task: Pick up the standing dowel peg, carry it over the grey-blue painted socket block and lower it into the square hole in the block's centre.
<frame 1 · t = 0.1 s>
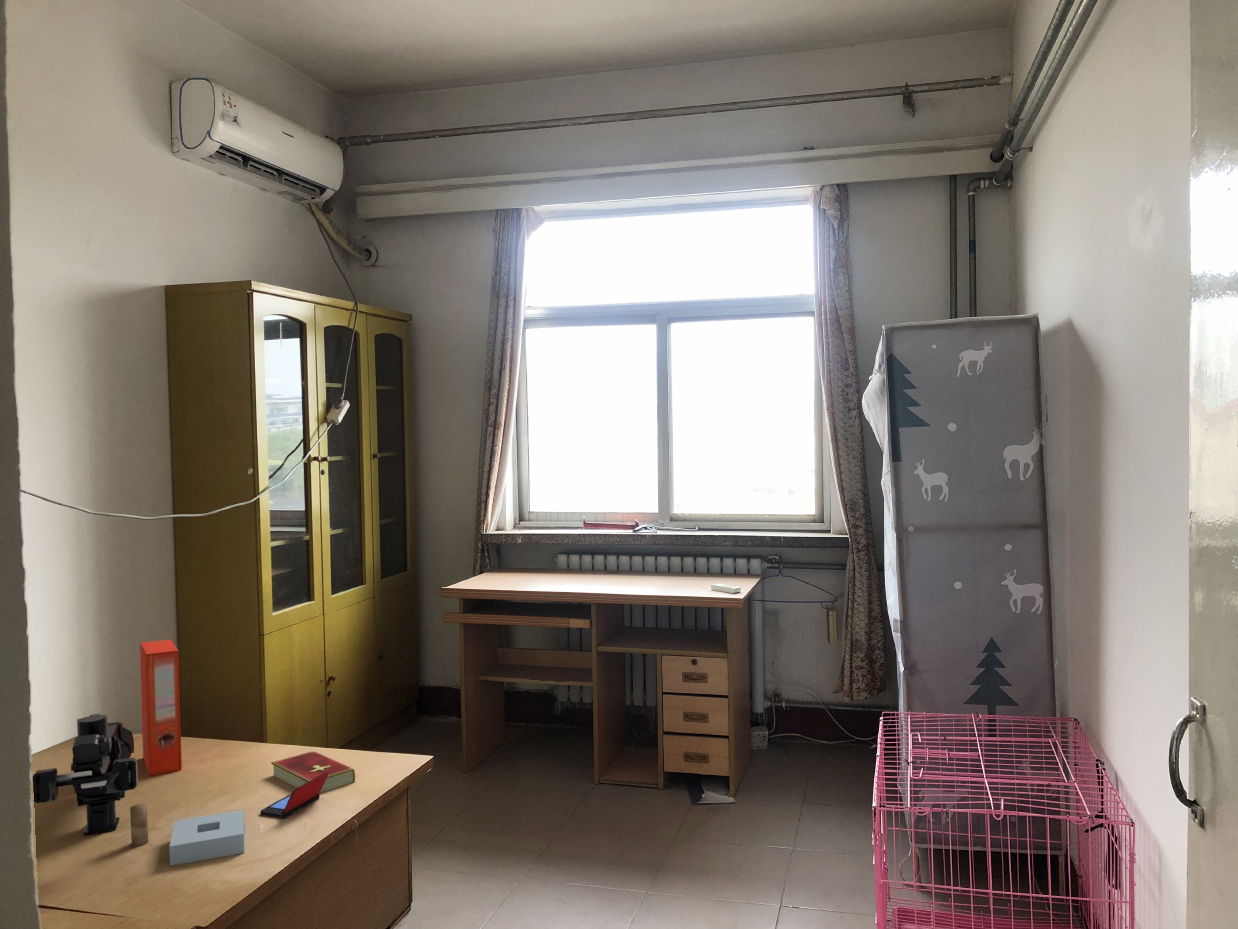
hand: (79, 794, 183), 17 cm above the table, fingers open, 9 cm apart
handheld game console: (295, 809, 215), on the table
hardcover book: (313, 781, 234), on the table
peg: (140, 843, 198), on the table
socket block: (209, 845, 196), on the table
file binder: (162, 764, 248), on the table
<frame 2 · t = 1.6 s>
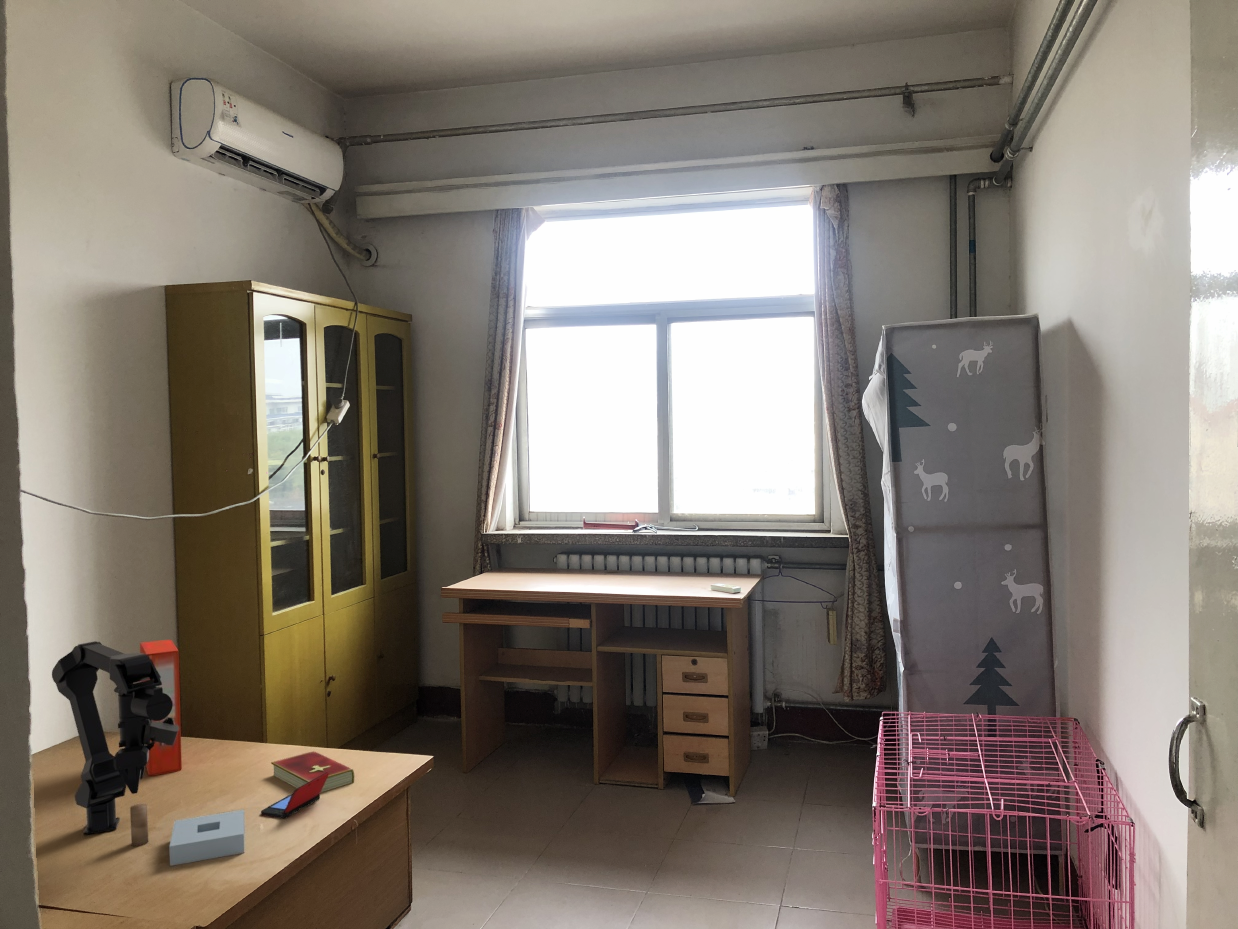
hand: (137, 786, 198), 12 cm above the table, fingers open, 9 cm apart
nothing on the table moved.
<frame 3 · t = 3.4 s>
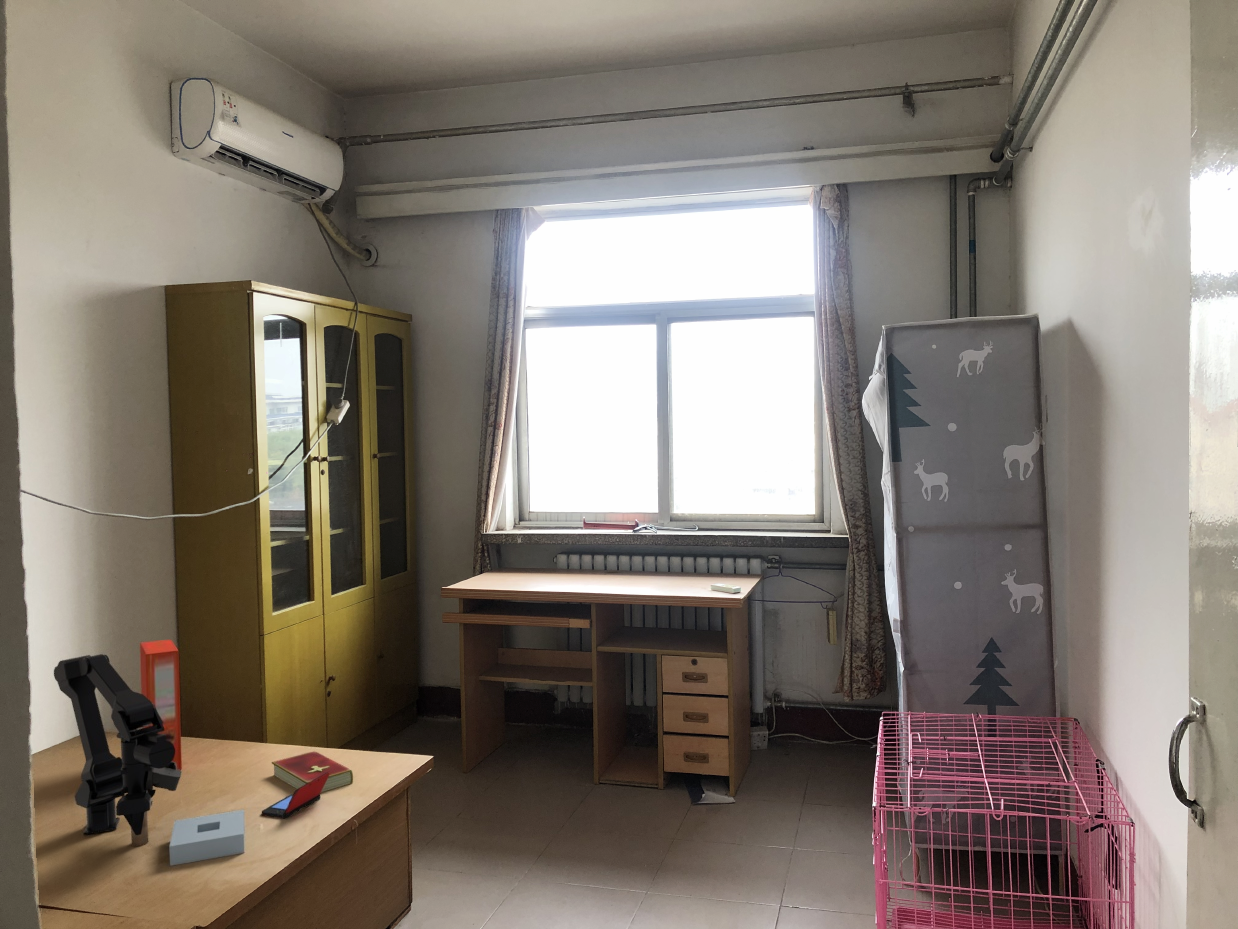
hand: (139, 831, 198), 3 cm above the table, fingers closed on peg, 3 cm apart
peg: (140, 843, 198), on the table, touching gripper
everything else where it was.
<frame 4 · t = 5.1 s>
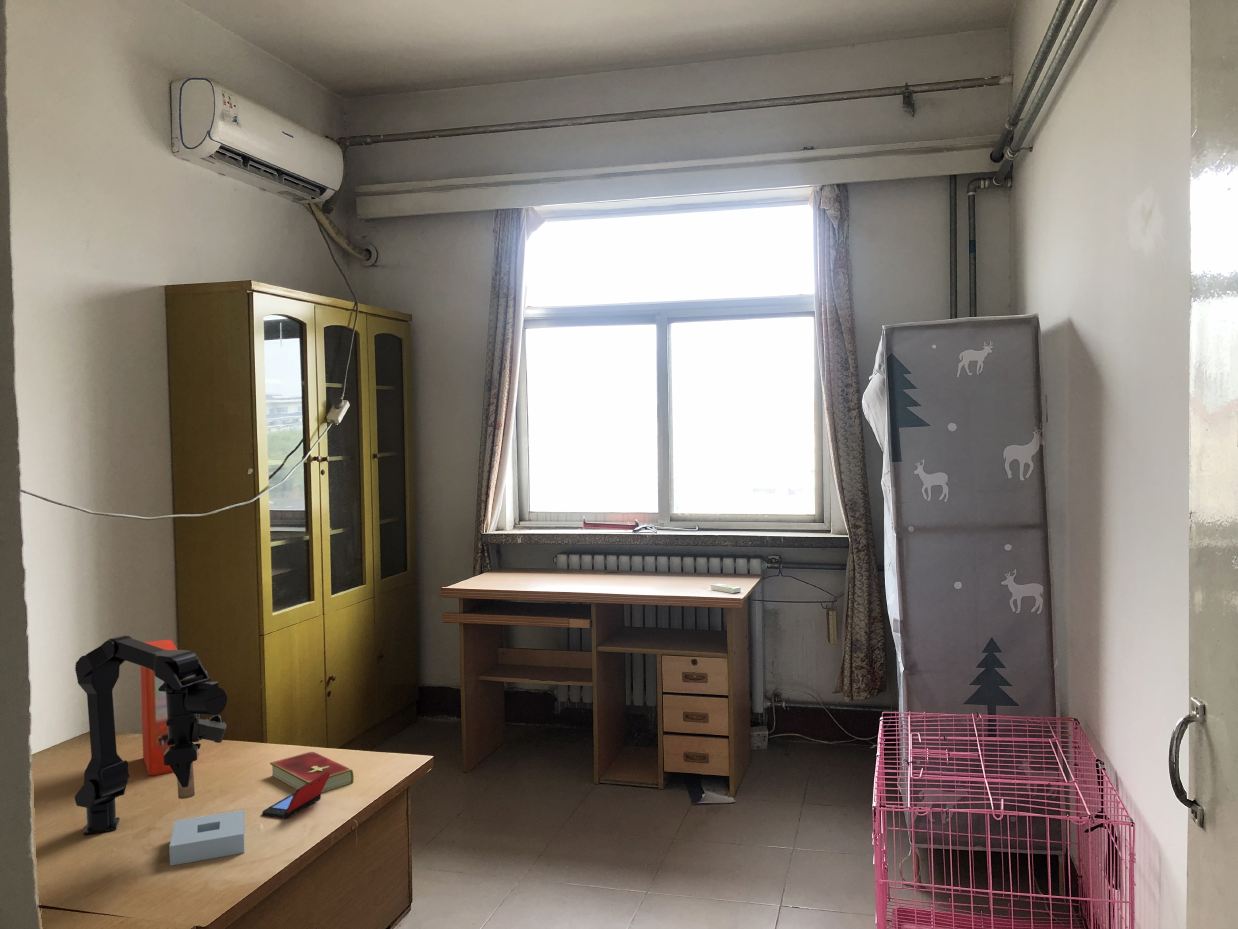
hand: (186, 784, 196), 13 cm above the table, fingers closed on peg, 3 cm apart
peg: (186, 796, 196), point 11 cm above the table, touching gripper
everything else where it was.
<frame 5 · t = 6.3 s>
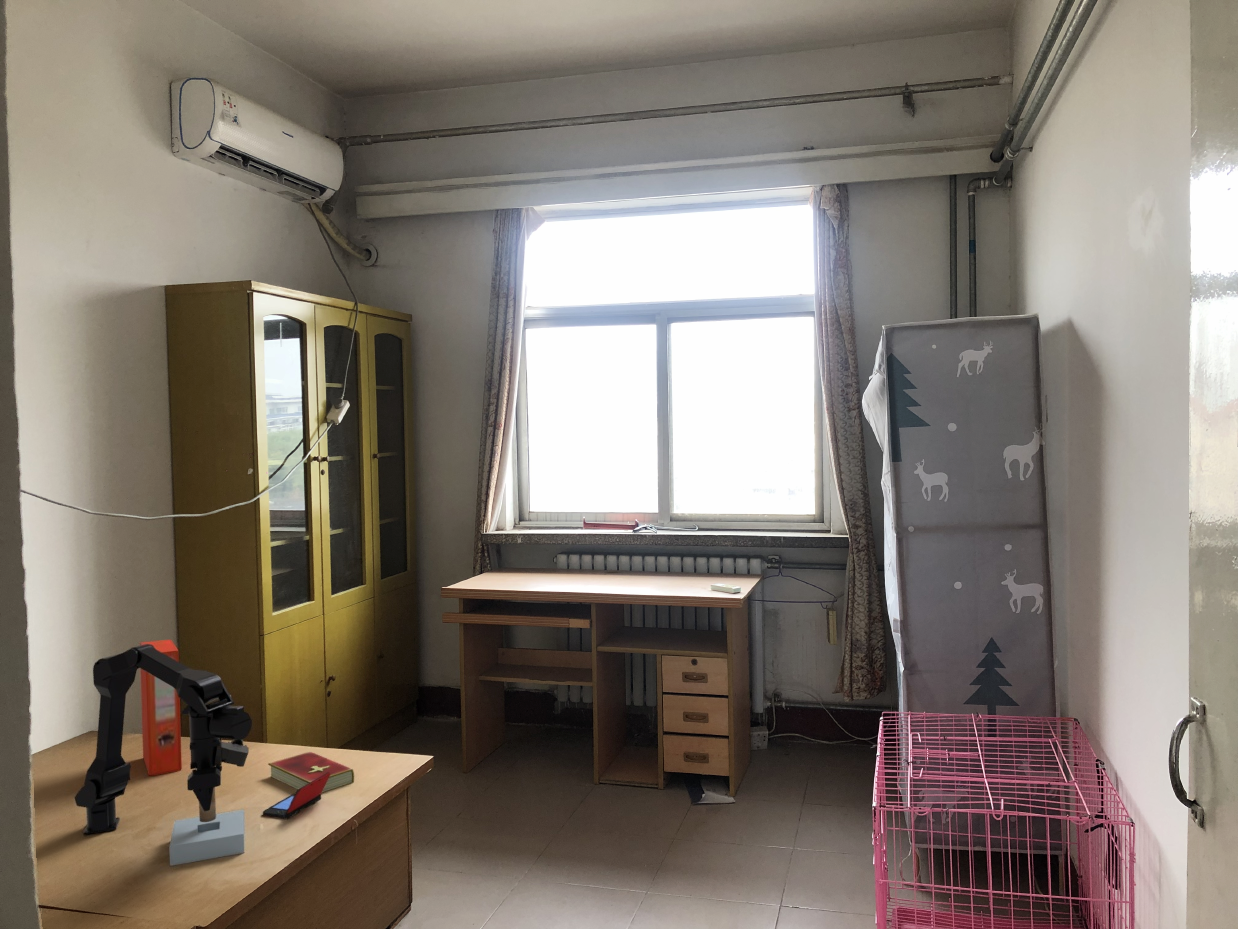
hand: (207, 807, 196), 8 cm above the table, fingers closed on peg, 3 cm apart
peg: (207, 819, 196), point 6 cm above the table, touching gripper
everything else where it was.
when the fingers open (5 cm above the table, at t = 7.1 s): peg drops 3 cm, resting in socket block.
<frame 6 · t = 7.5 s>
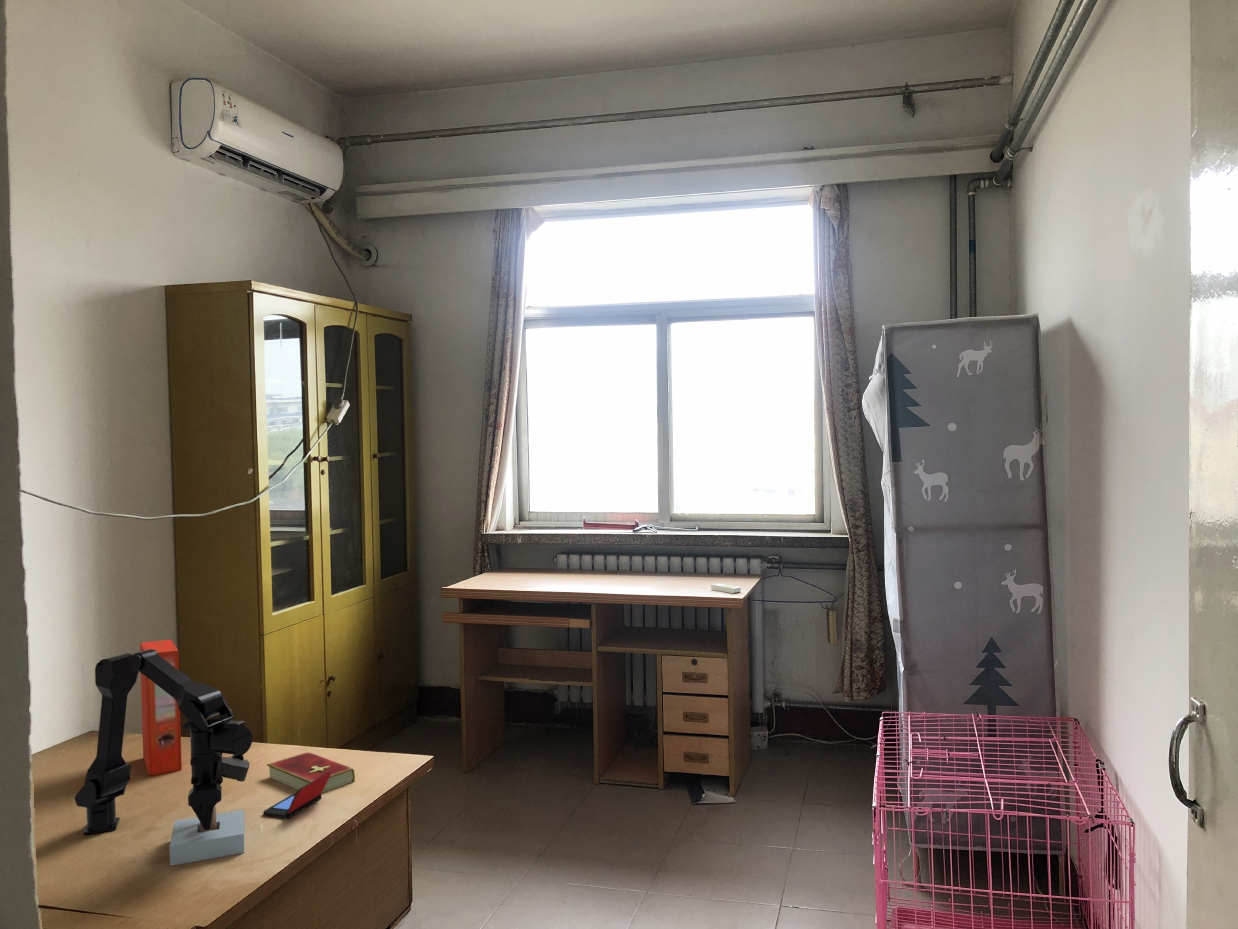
hand: (208, 822, 196), 5 cm above the table, fingers open, 7 cm apart
peg: (209, 845, 196), resting in socket block
everything else where it was.
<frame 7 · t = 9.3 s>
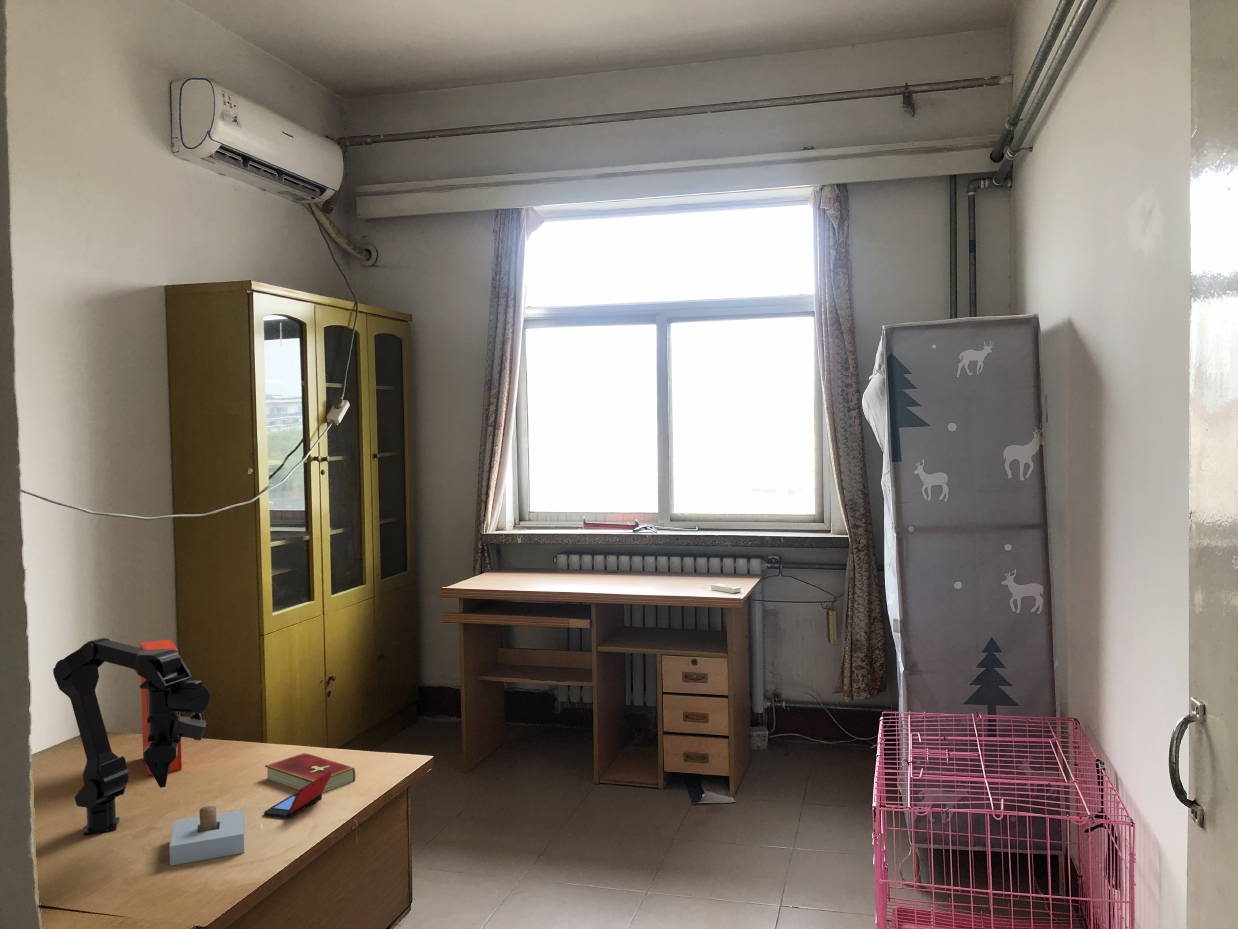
hand: (164, 779, 200), 13 cm above the table, fingers open, 9 cm apart
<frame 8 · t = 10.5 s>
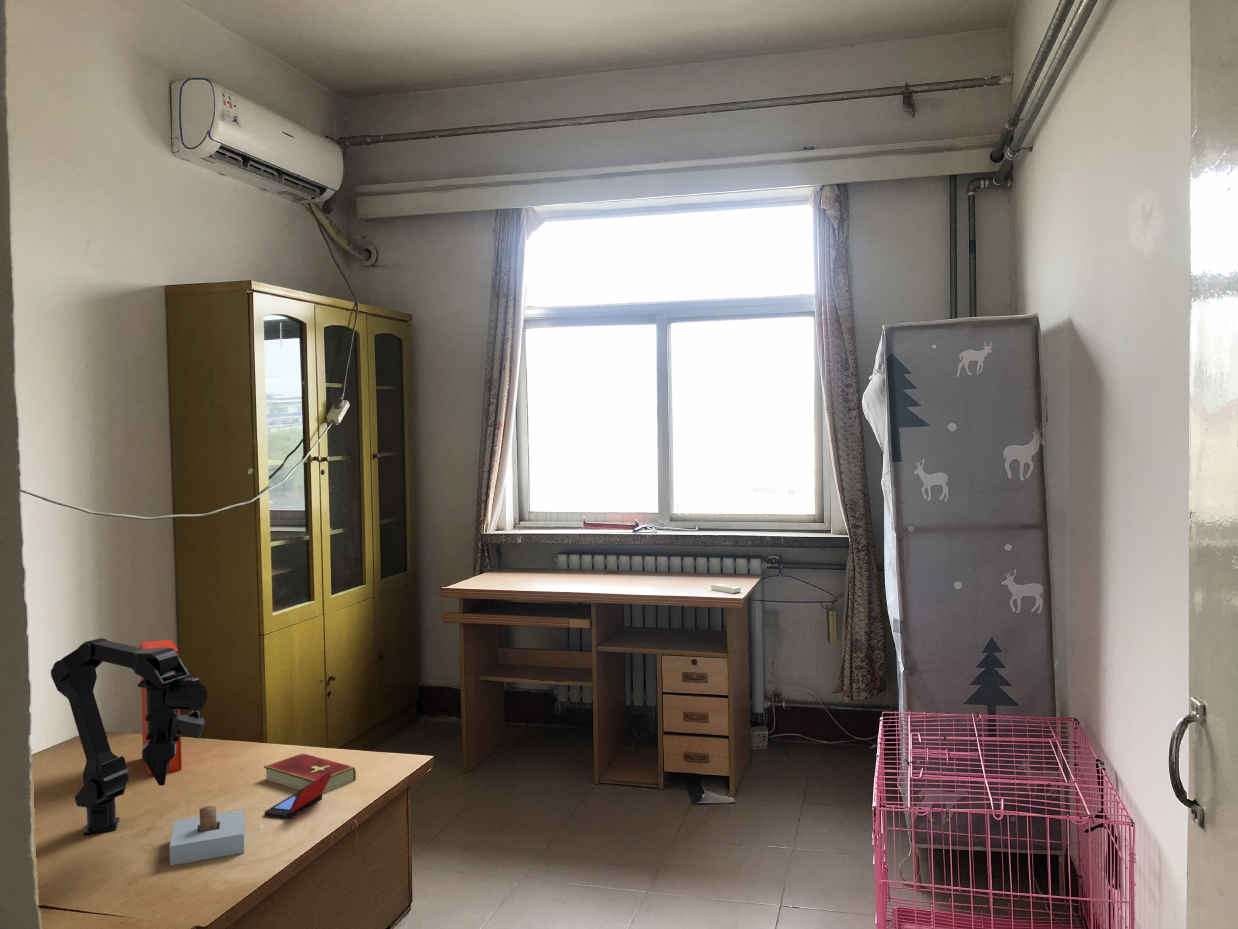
hand: (163, 778, 200), 13 cm above the table, fingers open, 9 cm apart
at the end: peg 0.0 cm off-centre on the socket block, point 0.0 cm above the socket block's base; peg tilted 0°; the gripper is holding nothing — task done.
